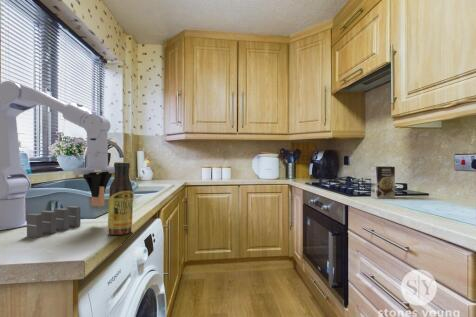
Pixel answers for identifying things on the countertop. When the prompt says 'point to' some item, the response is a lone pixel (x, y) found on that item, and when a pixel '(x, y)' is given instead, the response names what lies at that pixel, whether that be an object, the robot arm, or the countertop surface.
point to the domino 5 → (99, 198)
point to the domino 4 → (74, 215)
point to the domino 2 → (48, 222)
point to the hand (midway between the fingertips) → (98, 196)
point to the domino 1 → (34, 225)
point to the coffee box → (383, 182)
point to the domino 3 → (62, 219)
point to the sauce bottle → (120, 201)
